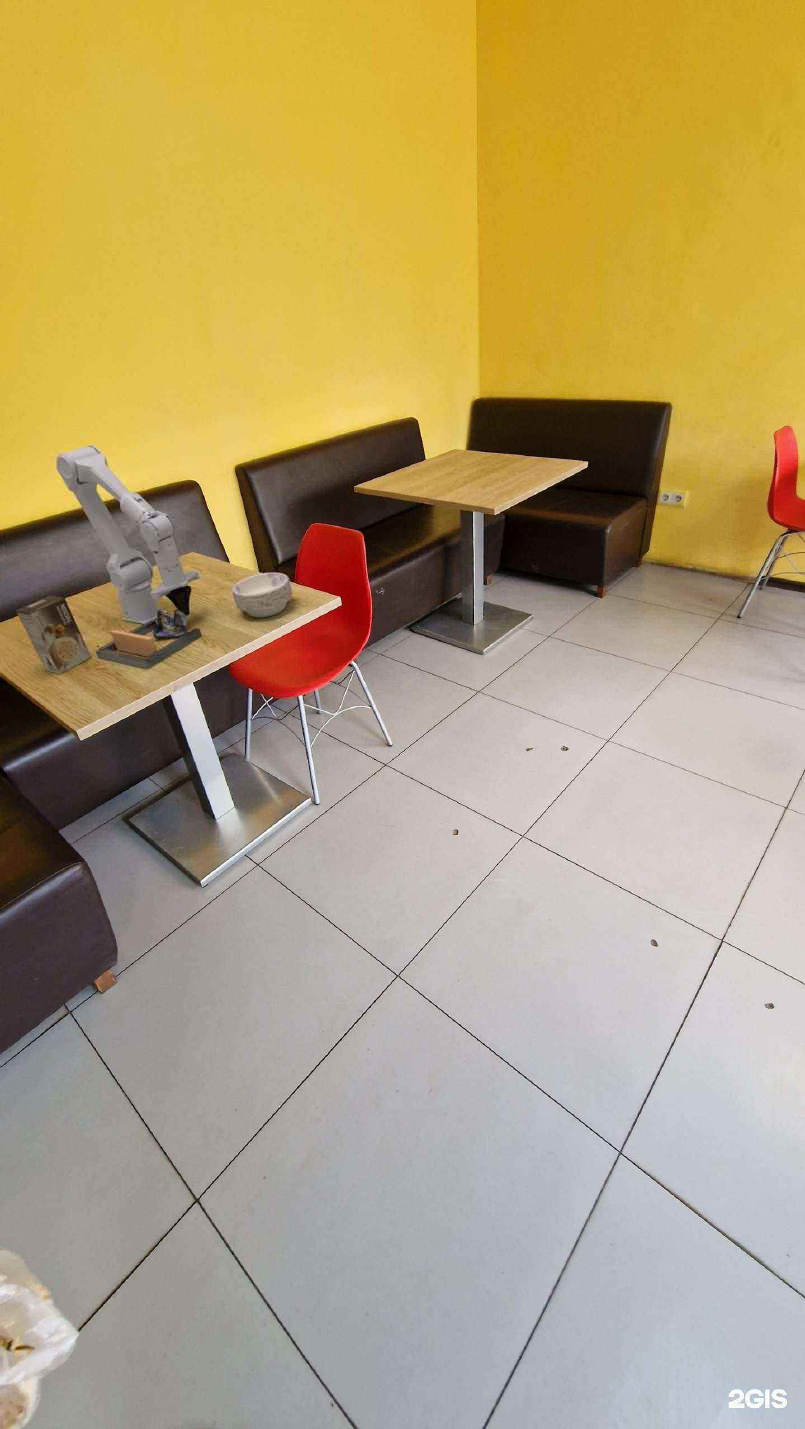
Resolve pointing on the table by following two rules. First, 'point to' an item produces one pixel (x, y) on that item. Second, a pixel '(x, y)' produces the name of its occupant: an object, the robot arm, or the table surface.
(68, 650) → the coffee box
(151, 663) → the rail track
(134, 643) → the plate
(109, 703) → the table surface
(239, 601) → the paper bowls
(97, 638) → the table surface
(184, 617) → the snack package
